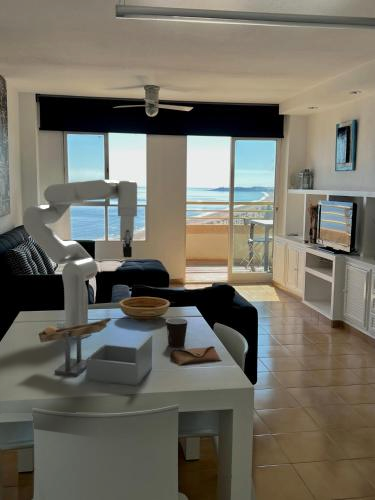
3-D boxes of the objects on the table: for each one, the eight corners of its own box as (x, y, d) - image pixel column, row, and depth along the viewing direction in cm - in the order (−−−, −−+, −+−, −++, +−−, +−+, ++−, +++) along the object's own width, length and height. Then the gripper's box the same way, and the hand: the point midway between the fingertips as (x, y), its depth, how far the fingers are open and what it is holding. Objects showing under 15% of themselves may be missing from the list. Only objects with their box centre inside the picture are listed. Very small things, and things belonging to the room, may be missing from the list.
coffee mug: (184, 349, 189) (185, 324, 188) (163, 347, 191) (163, 323, 190) (190, 340, 201) (191, 317, 199) (170, 338, 202) (170, 315, 201)
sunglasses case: (178, 366, 171) (175, 347, 174) (171, 369, 177) (169, 351, 180) (223, 360, 178) (220, 342, 180) (216, 364, 184) (213, 347, 186)
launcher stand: (54, 373, 162) (54, 332, 160) (70, 361, 174) (70, 323, 172) (76, 376, 160) (76, 335, 158) (91, 363, 172) (91, 325, 170)
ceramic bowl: (116, 311, 244) (116, 296, 243) (164, 310, 249) (164, 294, 248) (121, 328, 215) (121, 311, 214) (175, 326, 220) (175, 309, 219)
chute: (40, 342, 165) (38, 333, 165) (63, 328, 181) (61, 320, 181) (99, 331, 159) (96, 322, 159) (117, 318, 176) (115, 310, 175)
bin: (86, 379, 158) (86, 344, 156) (104, 363, 173) (104, 330, 171) (137, 385, 154) (138, 349, 152) (151, 368, 169) (152, 335, 167)
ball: (44, 338, 166) (42, 328, 166) (49, 335, 169) (47, 325, 169) (53, 337, 165) (51, 326, 165) (58, 334, 169) (56, 324, 168)
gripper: (117, 211, 199) (117, 252, 201) (117, 213, 182) (117, 258, 184) (136, 211, 200) (135, 252, 202) (138, 213, 183) (137, 258, 185)
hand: (127, 255), depth 193 cm, fingers open, 9 cm apart
